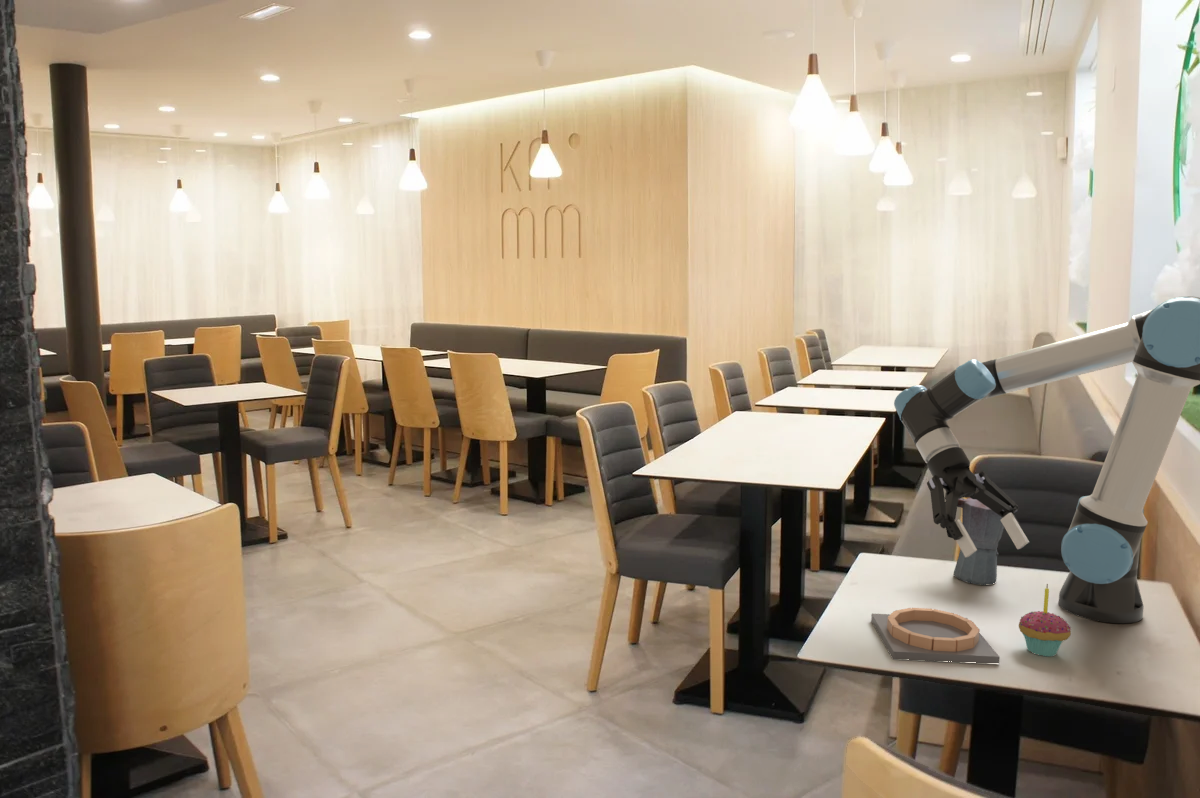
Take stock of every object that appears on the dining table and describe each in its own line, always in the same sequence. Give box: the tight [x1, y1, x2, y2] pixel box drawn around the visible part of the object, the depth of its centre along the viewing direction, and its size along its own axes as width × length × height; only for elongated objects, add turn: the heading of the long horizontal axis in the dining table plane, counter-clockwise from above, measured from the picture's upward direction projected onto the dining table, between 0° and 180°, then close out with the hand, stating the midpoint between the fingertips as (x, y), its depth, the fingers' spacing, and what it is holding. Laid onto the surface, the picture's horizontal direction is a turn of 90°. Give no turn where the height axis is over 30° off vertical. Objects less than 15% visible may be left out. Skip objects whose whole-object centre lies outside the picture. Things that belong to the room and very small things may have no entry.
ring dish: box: [870, 607, 1001, 664], centre depth 173 cm, size 18×18×4 cm
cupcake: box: [1018, 583, 1072, 657], centre depth 169 cm, size 9×8×12 cm
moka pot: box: [945, 497, 1018, 586], centre depth 207 cm, size 10×15×20 cm, turn 78°
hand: (997, 549), depth 178 cm, fingers open, 13 cm apart
